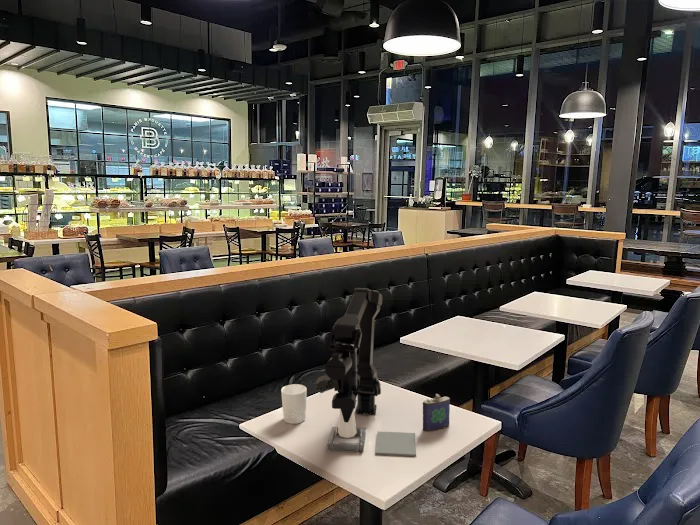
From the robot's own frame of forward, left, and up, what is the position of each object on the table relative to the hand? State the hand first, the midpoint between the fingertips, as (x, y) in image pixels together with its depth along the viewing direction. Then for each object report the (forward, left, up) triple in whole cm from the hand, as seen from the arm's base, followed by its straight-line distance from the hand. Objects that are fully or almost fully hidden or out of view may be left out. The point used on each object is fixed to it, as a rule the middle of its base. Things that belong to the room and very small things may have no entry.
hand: (347, 418), depth 149 cm
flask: (-11, +26, -8) cm, 29 cm away
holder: (0, 0, -7) cm, 7 cm away
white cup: (-13, -18, -8) cm, 23 cm away
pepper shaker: (0, 0, -5) cm, 5 cm away
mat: (0, +14, -7) cm, 16 cm away
